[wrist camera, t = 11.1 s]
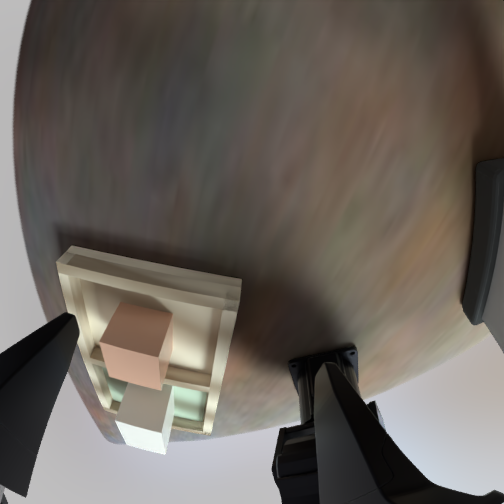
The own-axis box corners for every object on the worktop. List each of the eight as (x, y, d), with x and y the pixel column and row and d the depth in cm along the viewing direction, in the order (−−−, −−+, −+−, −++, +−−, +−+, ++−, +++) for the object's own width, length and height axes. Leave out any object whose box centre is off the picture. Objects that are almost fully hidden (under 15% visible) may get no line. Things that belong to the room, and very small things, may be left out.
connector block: (173, 382, 27) (161, 433, 21) (174, 412, 30) (165, 454, 25) (131, 372, 26) (115, 420, 21) (138, 403, 30) (126, 444, 25)
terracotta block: (172, 349, 24) (161, 390, 20) (125, 338, 24) (109, 376, 20) (173, 313, 22) (158, 357, 18) (120, 301, 22) (98, 341, 18)
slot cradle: (212, 419, 33) (210, 435, 31) (109, 395, 32) (104, 409, 30) (242, 279, 21) (239, 301, 19) (71, 245, 20) (56, 261, 18)
